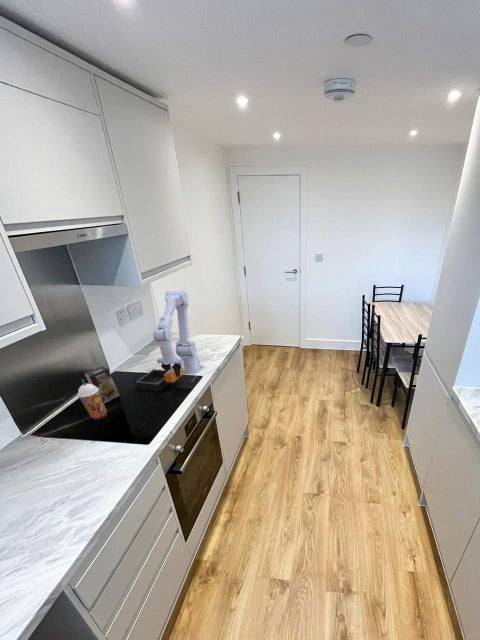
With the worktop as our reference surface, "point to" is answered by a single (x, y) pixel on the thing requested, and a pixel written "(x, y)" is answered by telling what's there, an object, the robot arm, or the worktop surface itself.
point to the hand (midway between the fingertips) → (174, 375)
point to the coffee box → (103, 383)
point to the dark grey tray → (153, 380)
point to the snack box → (172, 375)
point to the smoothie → (92, 400)
